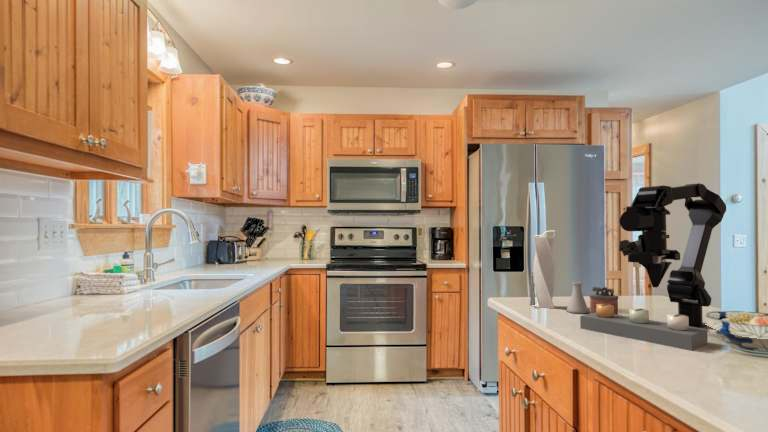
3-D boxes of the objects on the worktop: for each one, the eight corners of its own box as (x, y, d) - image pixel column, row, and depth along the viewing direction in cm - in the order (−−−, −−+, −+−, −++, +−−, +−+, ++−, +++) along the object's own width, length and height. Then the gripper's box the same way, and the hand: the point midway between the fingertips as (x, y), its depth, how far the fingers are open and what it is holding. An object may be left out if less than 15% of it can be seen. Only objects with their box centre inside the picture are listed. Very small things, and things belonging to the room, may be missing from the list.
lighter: (619, 319, 131) (618, 287, 131) (618, 321, 128) (617, 288, 128) (590, 316, 135) (589, 285, 135) (589, 318, 132) (588, 286, 132)
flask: (592, 314, 138) (591, 284, 139) (568, 313, 140) (568, 283, 140) (586, 310, 146) (585, 281, 146) (563, 309, 147) (563, 280, 147)
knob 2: (671, 338, 108) (671, 312, 108) (692, 342, 104) (691, 315, 104) (664, 341, 105) (663, 314, 105) (685, 345, 101) (684, 317, 102)
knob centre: (634, 331, 115) (634, 307, 115) (652, 335, 111) (651, 309, 111) (626, 334, 112) (626, 309, 113) (644, 337, 109) (644, 311, 109)
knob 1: (601, 325, 122) (601, 302, 122) (617, 328, 119) (616, 304, 119) (593, 327, 120) (593, 304, 120) (609, 330, 116) (608, 306, 116)
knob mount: (598, 323, 126) (598, 311, 126) (707, 343, 104) (707, 329, 104) (580, 328, 120) (580, 315, 120) (691, 350, 98) (691, 335, 98)
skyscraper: (553, 305, 156) (551, 230, 156) (560, 310, 148) (558, 230, 148) (529, 305, 156) (528, 230, 157) (535, 309, 148) (534, 230, 149)
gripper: (638, 230, 129) (639, 281, 129) (607, 231, 119) (608, 286, 118) (680, 230, 120) (681, 285, 120) (651, 231, 109) (652, 291, 109)
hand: (655, 287), depth 117 cm, fingers closed
